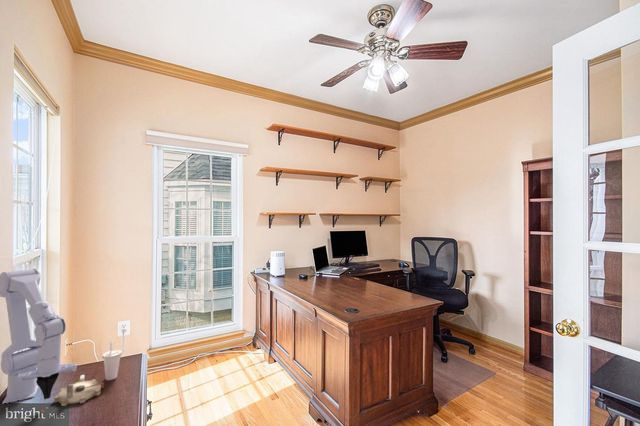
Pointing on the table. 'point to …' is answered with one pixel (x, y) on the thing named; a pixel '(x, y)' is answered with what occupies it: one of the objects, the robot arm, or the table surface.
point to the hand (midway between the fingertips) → (47, 397)
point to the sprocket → (79, 392)
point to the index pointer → (82, 378)
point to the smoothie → (111, 363)
